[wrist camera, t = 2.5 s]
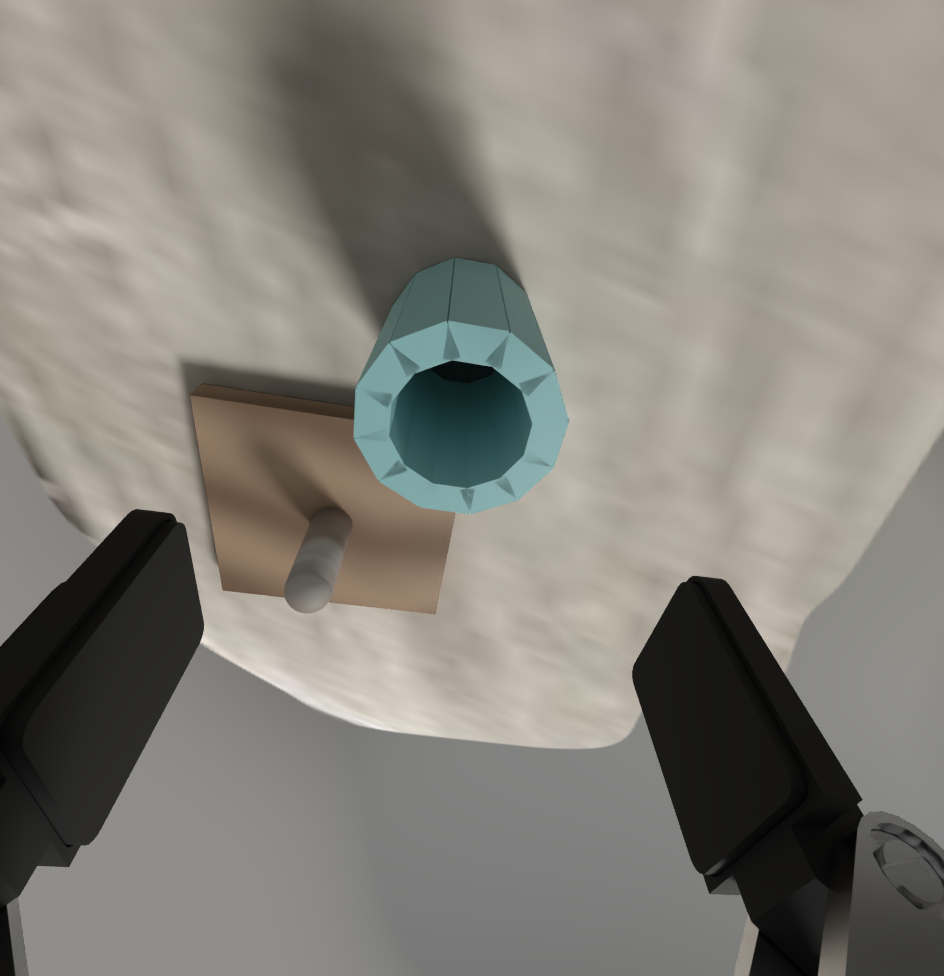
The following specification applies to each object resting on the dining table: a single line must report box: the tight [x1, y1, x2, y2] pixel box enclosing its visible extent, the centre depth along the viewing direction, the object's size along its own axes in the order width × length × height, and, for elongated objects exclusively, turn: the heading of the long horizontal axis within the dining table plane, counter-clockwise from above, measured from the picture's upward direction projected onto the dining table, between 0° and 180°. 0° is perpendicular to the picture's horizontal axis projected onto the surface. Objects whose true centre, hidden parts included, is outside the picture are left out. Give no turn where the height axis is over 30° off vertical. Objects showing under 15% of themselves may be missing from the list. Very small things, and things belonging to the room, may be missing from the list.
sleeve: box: [353, 257, 569, 514], centre depth 17 cm, size 6×6×8 cm
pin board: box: [190, 384, 455, 614], centre depth 23 cm, size 12×12×7 cm
